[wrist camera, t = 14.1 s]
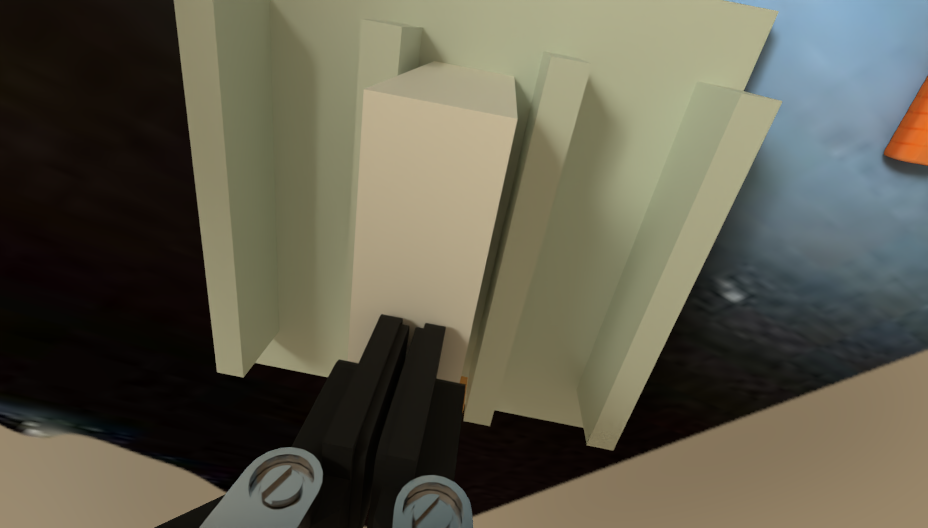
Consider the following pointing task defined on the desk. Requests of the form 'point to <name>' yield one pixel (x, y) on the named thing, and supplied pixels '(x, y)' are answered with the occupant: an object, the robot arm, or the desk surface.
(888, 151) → the magnifying glass
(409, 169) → the panel
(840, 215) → the desk surface
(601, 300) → the rack
